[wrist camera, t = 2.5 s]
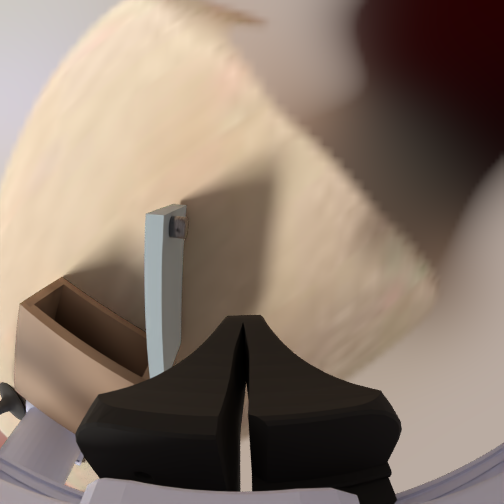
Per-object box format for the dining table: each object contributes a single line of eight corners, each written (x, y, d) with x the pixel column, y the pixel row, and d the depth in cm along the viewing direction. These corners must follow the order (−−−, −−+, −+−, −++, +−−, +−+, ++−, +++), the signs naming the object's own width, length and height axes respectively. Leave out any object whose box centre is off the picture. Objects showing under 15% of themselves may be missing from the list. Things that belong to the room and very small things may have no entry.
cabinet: (130, 413, 20) (112, 455, 15) (44, 358, 19) (14, 390, 14) (168, 344, 18) (147, 391, 14) (62, 276, 17) (19, 303, 12)
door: (169, 340, 18) (150, 383, 13) (172, 204, 16) (145, 213, 11) (191, 343, 18) (177, 388, 14) (198, 206, 16) (180, 216, 11)
